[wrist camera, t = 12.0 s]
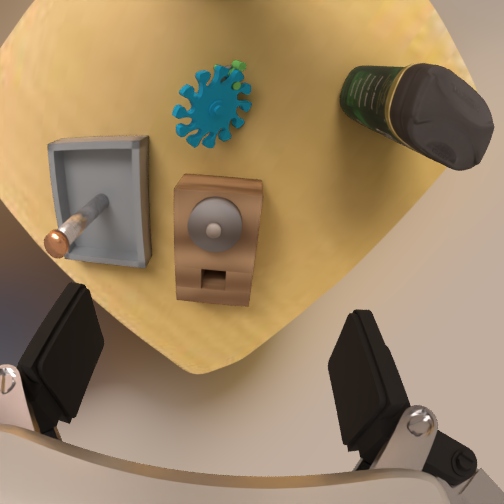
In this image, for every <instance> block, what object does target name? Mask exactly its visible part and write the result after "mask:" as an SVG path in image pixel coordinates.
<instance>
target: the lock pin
mask: <svg viewBox="0 0 504 504" xmlns="http://www.w3.org/2000/svg"><path fill="white" fill-rule="evenodd" d="M108 205H109V200H108V197H107V196H106V195H105V194H102V193H99V194H97V195H96V196H95V197H93V198H92V199H91V200H90V201H89V202H87V203H86V204H85V205H84V206H83V207H82V208H80V209H79V210H78V211H77V212H76V213H75V214H74V215H72V216H71V217H70V218H69V219H68V220H67V221H66V222H65V223H63V224H62V225H61V226H60V227H59V228H58V229H57V230H52V231H51V232H50V233H49V234H48V235H47V236H46V237H45V239H44V246H45V249H46V250H47V252H48V253H49V254H50V255H51V256H52V257H54V258H62V257H63V256H64V255H65V254H66V253H67V252H68V250H69V247H70V245H71V244H72V242H73V241H74V240H75V239H76V238H77V237H78V236H79V235H80V234H81V233H82V232H83V231H84V230H85V229H86V228H87V227H88V226H89V225H90V224H91V223H92V222H93V221H94V220H95V219H96V218H97V217H98V216H99V215H100V214H101V213H102V212H103V211H104V210H105V209H106V208H107V207H108Z"/></svg>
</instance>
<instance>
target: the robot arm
mask: <svg viewBox="0 0 504 504" xmlns="http://www.w3.org/2000/svg"><path fill="white" fill-rule="evenodd" d="M103 346H104V339H103V335H102V332H101V329H100V326H99V322H98V319H97V315H96V312H95V308H94V305H93V301H92V297H91V294H90V291H89V289H87V288H86V286H85V285H84V284H79V283H72V282H71V283H69V284H68V285H67V287H66V288H65V289H64V291H63V292H62V294H61V295H60V297H59V298H58V300H57V301H56V303H55V304H54V306H53V307H52V309H51V310H50V312H49V313H48V315H47V316H46V318H45V319H44V321H43V322H42V324H41V326H40V327H39V329H38V330H37V332H36V334H35V335H34V337H33V338H32V340H31V342H30V343H29V345H28V347H27V348H26V350H25V352H24V354H23V355H22V357H21V359H20V361H19V363H18V366H17V367H14V366H12V365H8V364H5V365H1V366H0V504H504V493H503V491H502V490H501V489H500V488H499V487H498V486H497V485H496V484H495V482H494V481H493V480H492V479H491V478H490V477H489V476H488V475H487V474H486V473H485V472H484V470H483V469H482V468H480V469H477V459H476V456H475V454H474V453H473V451H472V450H470V449H469V448H468V447H466V446H464V445H462V444H461V443H459V442H457V441H456V440H454V439H452V438H451V437H449V436H447V435H446V434H444V433H442V432H440V431H439V430H437V429H438V422H437V419H436V416H435V415H434V414H433V412H432V411H431V410H429V409H428V408H426V407H424V406H420V405H414V406H410V403H409V400H408V397H407V394H406V391H405V389H404V386H403V383H402V381H401V378H400V375H399V373H398V370H397V368H396V365H395V362H394V360H393V357H392V355H391V352H390V350H389V348H388V347H387V346H386V345H385V343H384V340H383V338H382V335H381V333H380V331H379V328H378V326H377V323H376V321H375V319H374V316H373V314H372V312H371V311H370V310H354V311H353V313H350V314H349V315H348V317H347V319H346V322H345V324H344V326H343V329H342V331H341V334H340V336H339V338H338V341H337V343H336V345H335V348H334V350H333V352H332V355H331V357H330V359H329V362H328V371H329V375H330V380H331V385H332V390H333V395H334V399H335V405H336V409H337V415H338V420H339V425H340V430H341V436H342V441H343V444H344V445H347V447H348V452H349V451H357V450H359V453H360V457H361V459H360V460H359V462H358V463H357V465H356V466H355V468H354V469H353V471H352V472H343V473H335V474H321V475H307V476H285V477H252V476H229V475H215V474H205V473H195V472H188V471H180V470H174V469H167V468H161V467H156V466H151V465H145V464H140V463H136V462H131V461H127V460H123V459H119V458H115V457H111V456H107V455H104V454H100V453H97V452H93V451H90V450H87V449H83V448H80V447H77V446H74V445H71V444H68V443H65V442H63V441H62V439H61V436H60V434H59V431H58V429H57V423H58V420H60V421H63V422H66V423H69V424H70V422H71V419H72V418H75V417H76V415H77V413H78V410H79V407H80V404H81V402H82V399H83V396H84V394H85V391H86V388H87V386H88V383H89V381H90V378H91V376H92V373H93V371H94V368H95V366H96V364H97V361H98V358H99V356H100V354H101V351H102V349H103Z"/></svg>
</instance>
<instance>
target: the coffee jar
mask: <svg viewBox="0 0 504 504" xmlns="http://www.w3.org/2000/svg"><path fill="white" fill-rule="evenodd" d="M340 104H341V107H342V110H343V111H344V112H345V114H346V115H347V116H349V117H350V118H351V119H353V120H355V121H356V122H358V123H360V124H362V125H364V126H366V127H368V128H369V129H372V130H374V131H376V132H378V133H380V134H382V135H384V136H386V137H388V138H390V139H392V140H394V141H396V142H398V143H400V144H402V145H403V146H406V147H408V148H410V149H412V150H414V151H416V152H418V153H420V154H422V155H424V156H426V157H428V158H430V159H432V160H434V161H436V162H439V163H441V164H443V165H445V166H447V167H448V168H451V169H454V170H458V171H460V170H461V171H462V170H466V169H470V168H472V167H474V166H475V165H477V164H479V163H480V162H481V160H482V158H483V156H484V154H485V152H486V150H487V147H488V145H489V143H490V140H491V137H492V134H493V130H494V124H493V120H492V116H491V112H490V110H489V108H488V106H487V104H486V102H485V101H484V99H483V98H482V97H481V96H480V95H479V94H478V93H477V92H476V91H475V90H474V89H473V88H472V87H471V86H470V85H468V84H467V83H466V82H465V81H464V80H462V79H461V78H460V77H458V76H457V75H456V74H454V73H453V72H452V71H451V70H449V69H446V68H444V67H442V66H438V65H432V64H425V63H416V64H412V65H409V66H407V67H386V66H359V67H356V68H354V69H353V70H352V71H351V72H350V73H349V75H348V76H347V78H346V80H345V83H344V85H343V88H342V91H341V95H340Z"/></svg>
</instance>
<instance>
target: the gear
mask: <svg viewBox="0 0 504 504" xmlns="http://www.w3.org/2000/svg"><path fill="white" fill-rule="evenodd" d="M245 69H246V63H244V62H241V61H238V60H234V61H233V62H232V66H231V65H227V66H225V67H223V66H221V65H217V64H216V65H215V66H214V70H215V73H214V77H213V80H212V81H211V83H210V84H209V85H208V86H206V84H207V82H208V80H209V79H210V76H211V74H210V72H208V71H206V70H203V71H199V72H197V73H196V75H195V77H196V79H197V81H198V83H199V90H198V94H197V93H195V92H194V88H193V87H192V86H190V85H188V84H186V85H185V86H183V87H182V88H181V90H180V91H179V93H180V95H182V96H184V97H185V98H188V99H189V101H190V103H191V109H190V110H189V111H186V109H185V108H184V107H183V106H181V105H176V106H175V107H174V110H173V113H172V115H173V116H175V117H176V118H178V119H181V118H184V117H190V118H192V121H191V123H190V124H189V125H184V124H182V123H180V124H178V125H176V132H177V135H179V136H180V137H184V136H186V135H187V134H188V133H189V132H191V131H193V130H195V129H199V131H198V132H197V133H196V134H193V135H190V136H188V137H187V139H186V140H187V142H188V143H189V144H190V145H191V146H193V147H194V148H195V147H197V146H198V145H199V142H200V141H201V139H202V138H203V137H204V136H205V135H206V134H207V133H209V132H210V134H209V135H208V136H207V137H205V138H204V139H203V141H202V144H203V145H204V146H205V147H207V148H213V147H214V145H215V138H216V135H217V134H218V132H219V130H220V129H221V128H222V130H221V131H220V133H219V135H218V137H219V139H220V140H222V141H227V140H229V139H231V134H230V132H229V123H230V120H231V119H232V125H233V126H234V127H236V128H240V127H241V126H242V125H243V124H244V120H243V119H241V118H240V117H238V115H237V112H236V109H237V107H238V106H239V107H240V109H242V110H244V111H245V112H248V111H249V109H250V107H251V105H252V103H251V102H249V101H247V100H238V99H237V95H238V94H239V93H240V92H241V93H243V94H246V95H248V94H250V92H251V85H250V84H248V83H242V84H241V83H240V81H242V80H243V79H244V76H243V74H242V72H241V71H244V70H245ZM239 70H240V71H239Z"/></svg>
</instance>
